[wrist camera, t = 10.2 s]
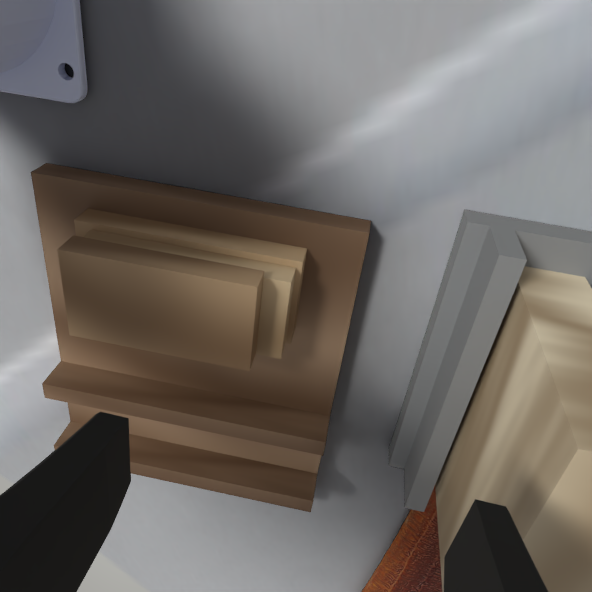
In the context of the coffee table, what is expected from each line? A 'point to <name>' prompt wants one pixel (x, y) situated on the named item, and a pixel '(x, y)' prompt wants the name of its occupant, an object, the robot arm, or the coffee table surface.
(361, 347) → the coffee table surface
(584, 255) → the grey channel block
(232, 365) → the offcut stack
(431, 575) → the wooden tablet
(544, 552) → the birch panel
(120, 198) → the walnut rack
